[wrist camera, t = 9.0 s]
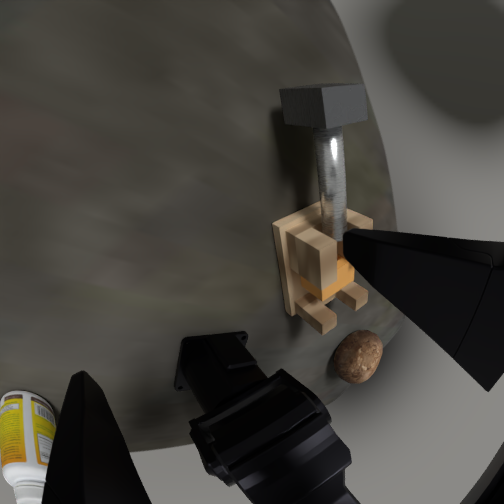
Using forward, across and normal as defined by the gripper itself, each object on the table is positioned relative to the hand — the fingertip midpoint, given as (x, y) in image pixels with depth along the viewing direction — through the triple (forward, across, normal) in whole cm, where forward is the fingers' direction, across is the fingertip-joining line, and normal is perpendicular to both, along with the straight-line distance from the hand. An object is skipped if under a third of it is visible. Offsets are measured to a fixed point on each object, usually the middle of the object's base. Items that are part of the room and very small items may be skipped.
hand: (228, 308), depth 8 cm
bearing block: (+12, -12, +11) cm, 20 cm away
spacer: (+11, -12, +11) cm, 20 cm away
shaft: (+11, -12, +1) cm, 16 cm away
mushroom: (+12, -18, +30) cm, 37 cm away
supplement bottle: (+12, +18, +12) cm, 25 cm away
